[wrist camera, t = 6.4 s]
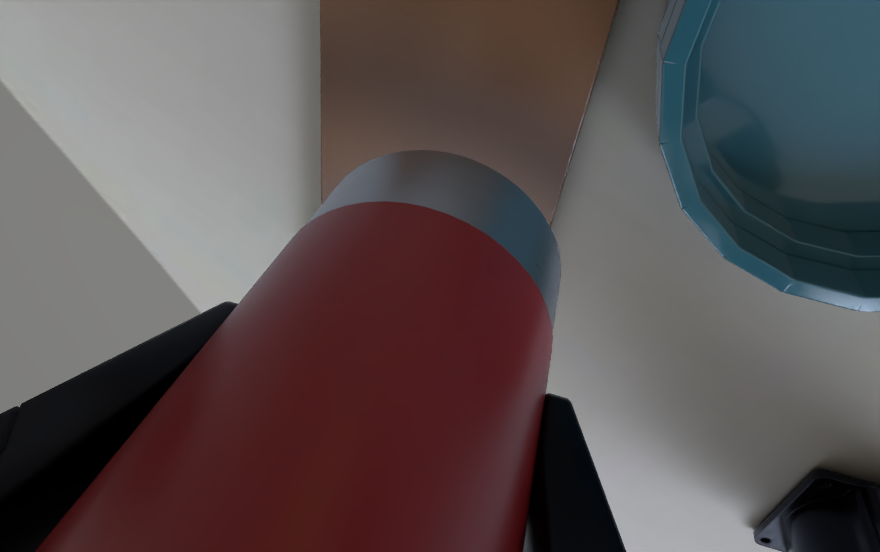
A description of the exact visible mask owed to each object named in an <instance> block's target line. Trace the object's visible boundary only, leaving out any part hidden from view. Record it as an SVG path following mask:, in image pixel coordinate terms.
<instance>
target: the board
mask: <svg viewBox="0 0 880 552" xmlns="http://www.w3.org/2000/svg"><path fill="white" fill-rule="evenodd" d="M619 1H620V0H320V40H321V200H322V204H323V203H324V202H325V200H326V199H327V198H328V197H329V195H330V194H331V193H332V192H333V191H334V189H335V188H336V187H337V186H338V185H339V183H340V182H341V181H342V180H343V179H344V178H345V177H346V176H347V175H348V174H349V173H351V172H352V171H353V170H355V169H356V168H357V167H359V166H361V165H362V164H364V163H366V162H368V161H370V160H372V159H375V158H377V157H380V156H383V155H386V154H391V153H395V152H400V151H411V150H431V151H441V152H446V153H452V154H456V155H459V156H463V157H466V158H469V159H472V160H475V161H477V162H479V163H481V164H484V165H486V166H488V167H490V168H492V169H493V170H495V171H497V172H498V173H500V174H502V175H503V176H505V177H506V178H508V179H509V180H510V181H512V182H513V183H514V184H515V185H517V186H518V187H519V188H520V189H521V190H522V191H523V192H524V193H525V194H526V195H527V196H528V197H529V198H530V199H531V200H532V201H533V202H534V203H535V205H536V206H537V207H538V209H539V210H540V211H541V212H542V214H543V216H544V217H545V219H546V221H547V222H548V224H549V226H550V227H551V224H552V220H553V217H554V214H555V211H556V207H557V204H558V201H559V197H560V194H561V191H562V188H563V184H564V181H565V178H566V174H567V171H568V168H569V165H570V161H571V158H572V155H573V152H574V148H575V145H576V142H577V138H578V135H579V132H580V129H581V125H582V122H583V119H584V115H585V112H586V109H587V106H588V102H589V99H590V96H591V92H592V89H593V86H594V83H595V79H596V76H597V73H598V69H599V66H600V63H601V60H602V56H603V53H604V50H605V46H606V43H607V40H608V37H609V33H610V30H611V27H612V24H613V20H614V17H615V14H616V10H617V7H618V4H619Z"/></svg>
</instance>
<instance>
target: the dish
mask: <svg viewBox="0 0 880 552" xmlns="http://www.w3.org/2000/svg"><path fill="white" fill-rule="evenodd" d="M655 111H656V120H657V129H658V139H659V146H660V149H661V152H662V155H663V158H664V160H665V163H666V166H667V169H668V172H669V175H670V178H671V181H672V184H673V187H674V190H675V193H676V196H677V199H678V202H679V205H680V207H681V208H682V210H683V212H684V213H685V214H686V215H687V216H688V218H689V219H690V220H691V221H692V222H693V223H694V225H695V226H696V227H697V228H698V229H699V230H700V232H701V233H702V234H703V235H704V236H705V238H706V239H707V240H708V241H709V242H710V243H711V245H712V246H713V247H714V248H715V249H716V250H717V252H718V253H719V254H720V255H721V256H722V257H724V259H725V260H727V261H729V262H731V263H732V264H734V265H736V266H738V267H739V268H741V269H743V270H744V271H746V272H748V273H750V274H751V275H753V276H755V277H757V278H758V279H760V280H762V281H764V282H765V283H767V284H769V285H770V286H772V287H774V288H776V289H777V290H779V291H781V292H784V293H787V294H791V295H795V296H799V297H803V298H807V299H811V300H815V301H819V302H823V303H827V304H831V305H835V306H839V307H843V308H847V309H851V310H855V311H857V310H858V311H865V312H880V0H670V1H669V3H668V6H667V9H666V12H665V15H664V18H663V20H662V23H661V26H660V29H659V34H658V37H657V63H656V89H655Z"/></svg>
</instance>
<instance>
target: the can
mask: <svg viewBox="0 0 880 552" xmlns="http://www.w3.org/2000/svg"><path fill="white" fill-rule="evenodd" d="M560 276H561V264H560V255H559V251H558V246H557V242H556V240H555V237H554V235H553V232H552V230H551V228H550V226H549V224H548V222H547V221H546V219H545V217H544V216H543V214H542V212H541V211H540V210H539V209H538V207H537V206H536V205H535V203H534V202H533V201H532V200H531V199H530V198H529V197H528V196H527V195H526V194H525V193H524V192H523V191H522V190H521V189H520V188H519V187H518V186H517V185H515V184H514V183H513V182H512V181H510V180H509V179H508V178H506V177H505V176H503V175H502V174H500V173H498V172H497V171H495V170H493V169H492V168H490V167H488V166H486V165H484V164H481V163H479V162H477V161H475V160H472V159H469V158H466V157H463V156H459V155H456V154H452V153H446V152H441V151H431V150H411V151H400V152H395V153H391V154H386V155H383V156H380V157H377V158H375V159H372V160H370V161H368V162H366V163H364V164H362V165H361V166H359V167H357V168H356V169H355V170H353V171H352V172H351V173H349V174H348V175H347V176H346V177H345V178H344V179H343V180H342V181H341V182H340V183H339V185H338V186H337V187H336V188H335V189H334V191H333V192H332V193H331V194H330V195H329V197H328V198H327V199H326V200H325V202H324V203H323V204H322V205H321V206H320V208H319V209H318V210H317V211H316V213H315V214H314V215H313V216H312V217H311V219H310V220H309V221H308V222H307V224H306V225H305V226H304V227H302V228H301V229H300V231H299V232H298V233H297V234H296V235H295V236H294V237H293V238H292V239H291V240H290V242H289V243H288V244H287V245H286V247H285V248H284V249H283V250H282V251H281V253H280V254H279V255H278V256H277V258H276V259H275V260H274V261H273V262H272V264H271V265H270V266H269V267H268V268H267V270H266V271H265V272H264V273H263V275H262V276H261V277H260V278H259V279H258V281H257V282H256V283H255V284H254V286H253V287H252V288H251V289H250V290H249V292H248V293H247V294H246V295H245V297H244V298H243V299H242V300H241V301H240V303H239V304H238V305H237V306H236V307H235V309H234V310H233V311H232V312H231V314H230V315H229V316H228V317H227V318H226V320H225V321H224V322H223V323H222V325H221V326H220V327H219V328H218V329H217V331H216V332H215V333H214V334H213V335H212V337H211V338H210V339H209V340H208V342H207V343H206V344H205V345H204V346H203V348H202V349H201V350H200V351H199V353H198V354H197V355H196V356H195V357H194V359H193V360H192V361H191V362H190V364H189V365H188V366H187V367H186V368H185V370H184V371H183V372H182V373H181V374H180V376H179V377H178V378H177V379H176V381H175V382H174V383H173V384H172V385H171V387H170V388H169V389H168V390H167V392H166V393H165V394H164V395H163V396H162V398H161V399H160V400H159V401H158V402H157V404H156V405H155V406H154V407H153V409H152V410H151V411H150V412H149V413H148V415H147V416H146V417H145V418H144V420H143V421H142V422H141V423H140V424H139V426H138V427H137V428H136V429H135V431H134V432H133V433H132V434H131V435H130V437H129V438H128V439H127V440H126V441H125V443H124V444H123V445H122V446H121V448H120V449H119V450H118V451H117V452H116V454H115V455H114V456H113V457H112V459H111V460H110V461H109V462H108V463H107V465H106V466H105V467H104V468H103V470H102V471H101V472H100V473H99V474H98V476H97V477H96V478H95V479H94V480H93V482H92V483H91V484H90V485H89V487H88V488H87V489H86V490H85V491H84V493H83V494H82V495H81V496H80V498H79V499H78V500H77V501H76V502H75V504H74V505H73V506H72V507H71V508H70V510H69V511H68V512H67V513H66V515H65V516H64V517H63V518H62V519H61V521H60V522H59V523H58V524H57V526H56V527H55V528H54V529H53V530H52V532H51V533H50V534H49V535H48V537H47V538H46V539H45V540H44V541H43V543H42V544H41V545H40V546H39V547H38V549H37V550H36V551H35V552H523V549H524V542H525V535H526V528H527V521H528V514H529V507H530V500H531V493H532V486H533V479H534V471H535V463H536V456H537V449H538V442H539V435H540V428H541V421H542V414H543V407H544V400H545V394H546V388H547V381H548V374H549V367H550V360H551V353H552V341H553V335H552V334H553V327H554V320H555V313H556V306H557V300H558V293H559V286H560Z"/></svg>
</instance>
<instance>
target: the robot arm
mask: <svg viewBox="0 0 880 552" xmlns="http://www.w3.org/2000/svg"><path fill="white" fill-rule="evenodd" d="M237 305H238V304H237V303H233V302H224V303H221V304H219V305H217V306H215V307H213V308H211V309H209V310H207V311H205V312H203V313H201V314H199V315H197V316H195V317H193V318H192V319H190V320H188V321H185V322H183V323H181V324H179V325H177V326H175V327H173V328H171V329H170V330H167V331H166V332H164V333H162V334H160V335H158V336H155V337H153V338H152V339H149V340H147V341H145V342H143V343H142V344H139V345H137V346H136V347H134V348H131V349H129V350H127V351H126V352H124V353H122V354H120V355H118V356H116V357H114V358H112V359H110V360H108V361H106V362H104V363H102V364H100V365H98V366H96V367H94V368H92V369H90V370H88V371H86V372H84V373H82V374H80V375H78V376H76V377H74V378H72V379H70V380H68V381H66V382H64V383H62V384H60V385H58V386H56V387H54V388H52V389H50V390H48V391H46V392H44V393H42V394H40V395H38V396H36V397H34V398H32V399H30V400H28V401H26V402H24V403H22V404H21V406H20V407H17V406H16V407H13V408H12V409H9V410H7V411H5V412H3V413H1V414H0V552H35V551H36V550H37V549H38V547H39V546H40V545H41V544H42V543H43V541H44V540H45V539H46V538H47V537H48V535H49V534H50V533H51V532H52V530H53V529H54V528H55V527H56V526H57V524H58V523H59V522H60V521H61V519H62V518H63V517H64V516H65V515H66V513H67V512H68V511H69V510H70V508H71V507H72V506H73V505H74V504H75V502H76V501H77V500H78V499H79V498H80V496H81V495H82V494H83V493H84V491H85V490H86V489H87V488H88V487H89V485H90V484H91V483H92V482H93V480H94V479H95V478H96V477H97V476H98V474H99V473H100V472H101V471H102V470H103V468H104V467H105V466H106V465H107V463H108V462H109V461H110V460H111V459H112V457H113V456H114V455H115V454H116V452H117V451H118V450H119V449H120V448H121V446H122V445H123V444H124V443H125V441H126V440H127V439H128V438H129V437H130V435H131V434H132V433H133V432H134V431H135V429H136V428H137V427H138V426H139V424H140V423H141V422H142V421H143V420H144V418H145V417H146V416H147V415H148V413H149V412H150V411H151V410H152V409H153V407H154V406H155V405H156V404H157V402H158V401H159V400H160V399H161V398H162V396H163V395H164V394H165V393H166V392H167V390H168V389H169V388H170V387H171V385H172V384H173V383H174V382H175V381H176V379H177V378H178V377H179V376H180V374H181V373H182V372H183V371H184V370H185V368H186V367H187V366H188V365H189V364H190V362H191V361H192V360H193V359H194V357H195V356H196V355H197V354H198V353H199V351H200V350H201V349H202V348H203V346H204V345H205V344H206V343H207V342H208V340H209V339H210V338H211V337H212V335H213V334H214V333H215V332H216V331H217V329H218V328H219V327H220V326H221V325H222V323H223V322H224V321H225V320H226V318H227V317H228V316H229V315H230V314H231V312H232V311H233V310H234V309H235V307H236V306H237ZM753 533H754V539H755V542H756V543H757V544H759V545H762V546H765V547H769V548H772V549H775V550H779V551H782V552H880V485H877V484H873V483H870V482H866V481H863V480H859V479H855V478H852V477H848V476H845V475H841V474H838V473H834V472H831V471H827V470H817V471H814V472H812V473H811V474H810V475H809V476H808V477H807V478H806V479H805V480H804V481H803V482H802V483H801V484H800V485H799V486H798V487H797V488H796V489H795V490H794V491H793V492H792V493H791V494H790V495H789V496H788V497H787V498H786V499H785V500H784V501H783V502H782V503H781V504H780V505H779V506H778V507H777V508H776V509H775V510H774V511H773V512H772V513H771V514H770V515H769V516H768V517H767V518H766V519H765V520H764V521H763V522H762V523H761V524H760V525H759V526H758V527H757V528H756V529H755V530H754V532H753ZM523 552H626V550H625V547H624V544H623V542H622V539H621V536H620V533H619V531H618V528H617V525H616V523H615V520H614V517H613V515H612V512H611V509H610V506H609V504H608V501H607V498H606V496H605V493H604V490H603V487H602V485H601V482H600V479H599V477H598V474H597V471H596V468H595V466H594V463H593V460H592V458H591V455H590V452H589V449H588V447H587V444H586V441H585V439H584V436H583V433H582V430H581V428H580V425H579V422H578V420H577V417H576V414H575V411H574V409H573V406H572V404H571V402H570V400H569V399H567V398H564V397H561V396H557V395H554V394H550V393H548V394H545V400H544V407H543V414H542V421H541V428H540V435H539V442H538V449H537V456H536V463H535V471H534V479H533V486H532V493H531V500H530V507H529V514H528V521H527V528H526V535H525V542H524V549H523Z"/></svg>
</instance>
